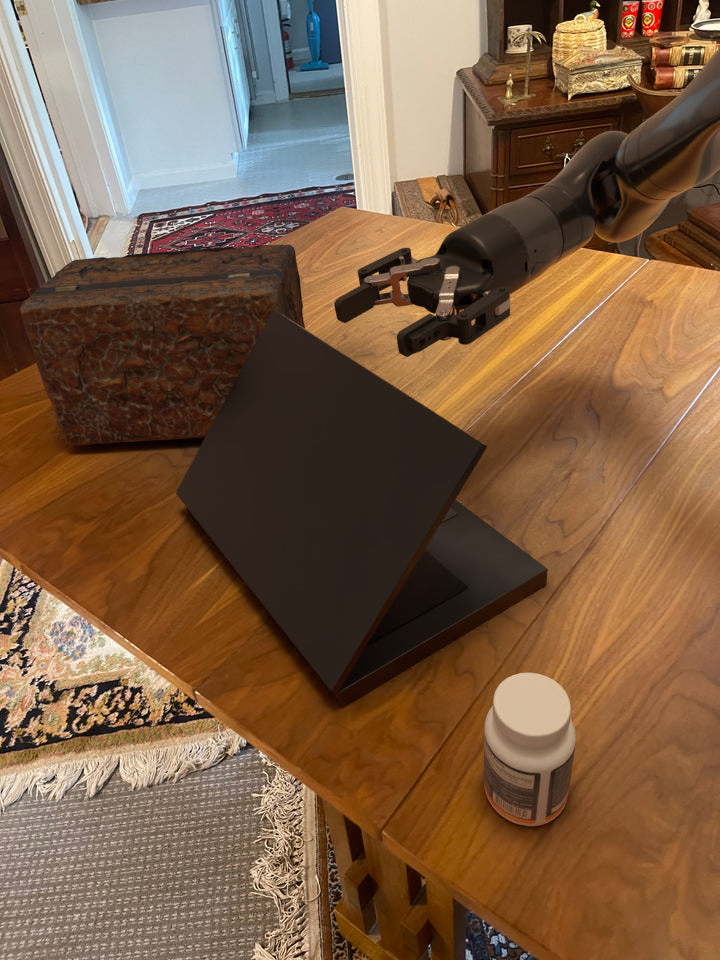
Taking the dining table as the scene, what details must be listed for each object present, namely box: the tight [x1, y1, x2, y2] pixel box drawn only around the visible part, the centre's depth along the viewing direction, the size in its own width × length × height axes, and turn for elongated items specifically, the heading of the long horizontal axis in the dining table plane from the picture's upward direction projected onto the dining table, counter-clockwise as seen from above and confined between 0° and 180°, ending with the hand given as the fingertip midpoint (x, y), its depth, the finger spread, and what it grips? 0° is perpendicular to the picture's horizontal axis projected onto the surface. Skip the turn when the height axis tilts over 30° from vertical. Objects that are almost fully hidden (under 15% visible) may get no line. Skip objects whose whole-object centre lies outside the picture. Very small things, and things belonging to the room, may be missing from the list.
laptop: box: [185, 499, 549, 709], centre depth 72 cm, size 22×32×2 cm
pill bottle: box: [483, 672, 577, 827], centre depth 48 cm, size 6×6×10 cm
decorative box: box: [19, 244, 306, 447], centre depth 91 cm, size 31×20×20 cm
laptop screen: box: [175, 310, 488, 692], centre depth 65 cm, size 22×32×1 cm
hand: (367, 329), depth 62 cm, fingers open, 8 cm apart
